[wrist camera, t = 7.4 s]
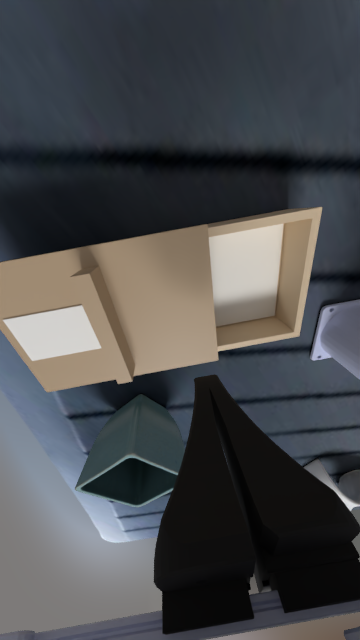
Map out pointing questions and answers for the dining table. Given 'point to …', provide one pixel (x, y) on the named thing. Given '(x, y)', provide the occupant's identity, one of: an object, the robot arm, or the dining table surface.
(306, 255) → the box
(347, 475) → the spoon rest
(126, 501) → the flower pot
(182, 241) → the mailer lid
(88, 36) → the dining table surface
